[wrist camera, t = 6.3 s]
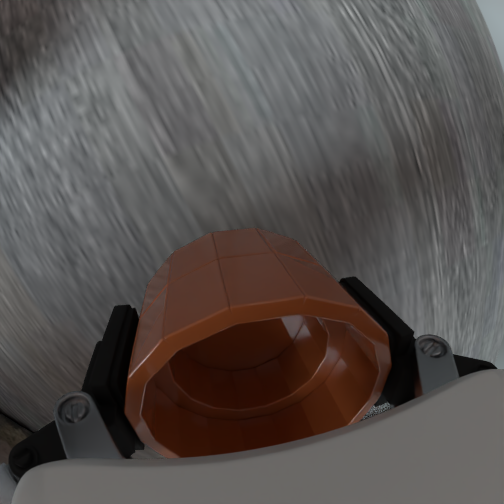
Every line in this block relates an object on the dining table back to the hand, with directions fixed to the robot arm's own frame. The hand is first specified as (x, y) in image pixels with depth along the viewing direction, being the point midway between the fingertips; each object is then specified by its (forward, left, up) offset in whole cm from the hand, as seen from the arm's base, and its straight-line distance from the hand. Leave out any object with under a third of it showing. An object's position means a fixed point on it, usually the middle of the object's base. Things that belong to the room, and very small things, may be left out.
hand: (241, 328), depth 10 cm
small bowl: (0, 0, -1) cm, 1 cm away
